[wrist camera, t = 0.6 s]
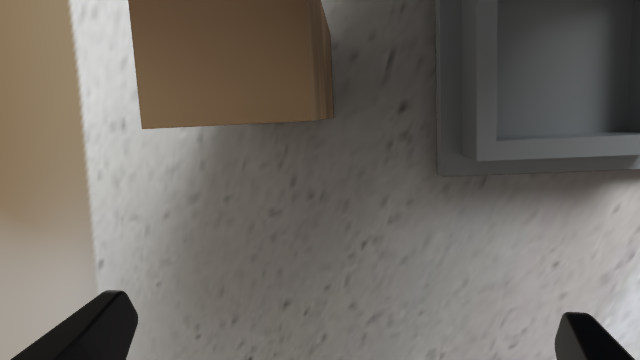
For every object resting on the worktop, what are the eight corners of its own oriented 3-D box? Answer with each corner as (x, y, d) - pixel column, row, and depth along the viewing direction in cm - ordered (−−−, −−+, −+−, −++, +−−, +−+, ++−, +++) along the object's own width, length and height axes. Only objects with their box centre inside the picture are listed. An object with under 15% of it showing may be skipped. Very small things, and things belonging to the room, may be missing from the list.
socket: (650, 165, 21) (708, 175, 18) (437, 173, 22) (453, 184, 18) (663, -58, 20) (729, -95, 16) (434, -41, 20) (451, -72, 17)
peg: (334, 117, 22) (311, 120, 10) (254, 121, 22) (142, 128, 10) (330, 34, 21) (301, -68, 9) (248, 39, 22) (122, -52, 10)
